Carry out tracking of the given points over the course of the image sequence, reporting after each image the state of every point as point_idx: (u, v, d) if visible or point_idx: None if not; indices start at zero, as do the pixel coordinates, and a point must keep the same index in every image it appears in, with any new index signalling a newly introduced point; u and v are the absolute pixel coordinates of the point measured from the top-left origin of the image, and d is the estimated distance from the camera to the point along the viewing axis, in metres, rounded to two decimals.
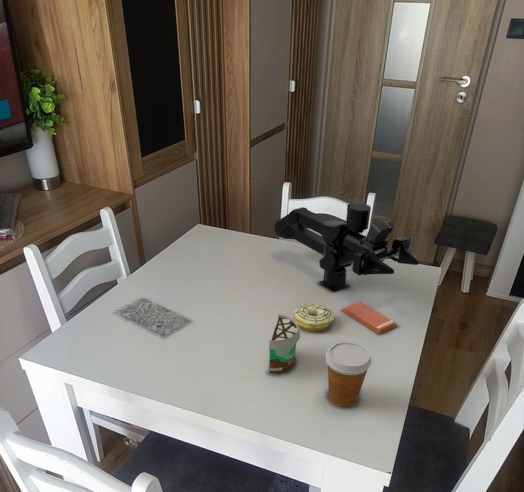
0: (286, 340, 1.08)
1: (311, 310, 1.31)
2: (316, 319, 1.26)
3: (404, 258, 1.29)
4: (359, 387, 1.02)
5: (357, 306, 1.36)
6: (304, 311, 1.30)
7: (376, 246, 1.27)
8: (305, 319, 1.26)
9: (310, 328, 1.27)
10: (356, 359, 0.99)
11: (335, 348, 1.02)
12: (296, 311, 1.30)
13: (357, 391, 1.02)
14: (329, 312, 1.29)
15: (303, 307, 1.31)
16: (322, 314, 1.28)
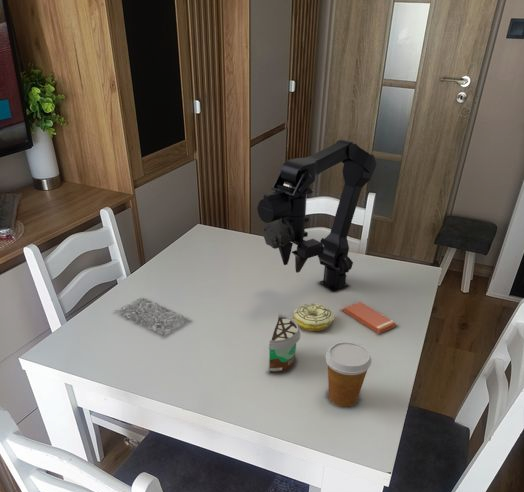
0: (286, 340, 1.08)
1: (311, 310, 1.31)
2: (316, 319, 1.26)
3: None
4: (359, 387, 1.02)
5: (357, 306, 1.36)
6: (304, 311, 1.30)
7: None
8: (305, 319, 1.26)
9: (310, 328, 1.27)
10: (356, 359, 0.99)
11: (335, 348, 1.02)
12: (296, 311, 1.30)
13: (357, 391, 1.02)
14: (329, 312, 1.29)
15: (303, 307, 1.31)
16: (322, 314, 1.28)
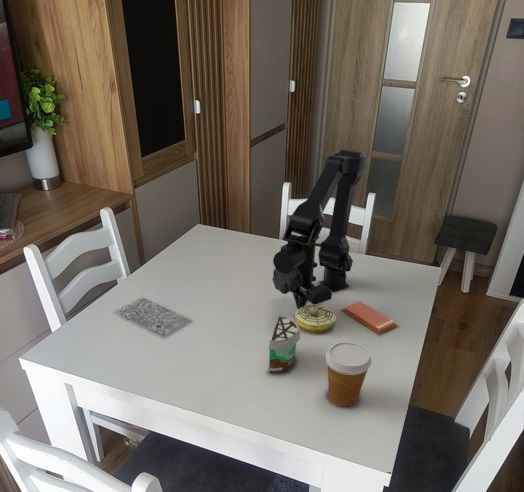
0: (286, 340, 1.08)
1: (312, 311, 1.31)
2: (318, 321, 1.26)
3: None
4: (359, 387, 1.02)
5: (357, 306, 1.36)
6: (306, 312, 1.29)
7: None
8: (307, 320, 1.26)
9: (312, 329, 1.26)
10: (356, 359, 0.99)
11: (335, 348, 1.02)
12: (298, 312, 1.29)
13: (357, 391, 1.02)
14: (331, 314, 1.29)
15: (305, 308, 1.31)
16: (324, 315, 1.28)
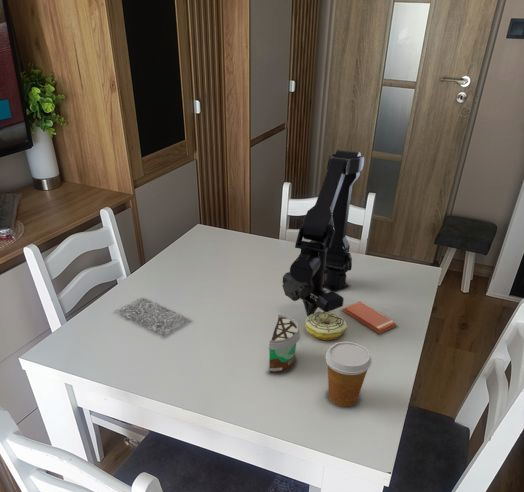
0: (286, 340, 1.08)
1: (323, 318, 1.28)
2: (329, 328, 1.23)
3: None
4: (359, 387, 1.02)
5: (357, 306, 1.36)
6: (316, 319, 1.26)
7: None
8: (318, 328, 1.23)
9: (322, 337, 1.23)
10: (356, 359, 0.99)
11: (335, 348, 1.02)
12: (308, 319, 1.27)
13: (357, 391, 1.02)
14: (342, 321, 1.26)
15: (315, 315, 1.28)
16: (335, 322, 1.25)
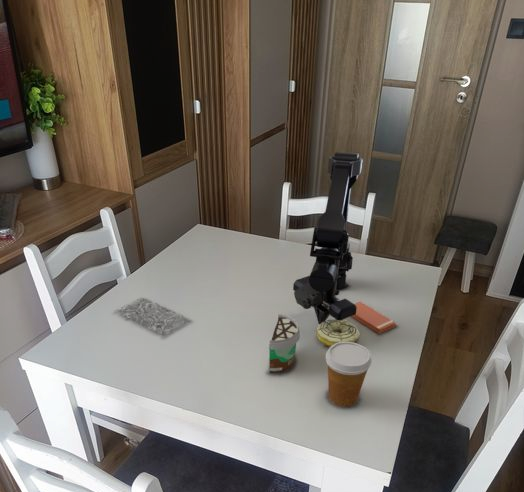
0: (286, 340, 1.08)
1: (335, 326, 1.25)
2: (341, 337, 1.20)
3: None
4: (359, 387, 1.02)
5: (357, 306, 1.36)
6: (328, 327, 1.23)
7: None
8: (330, 337, 1.20)
9: None
10: (356, 359, 0.99)
11: (335, 348, 1.02)
12: (319, 327, 1.23)
13: (357, 391, 1.02)
14: (355, 329, 1.23)
15: (326, 323, 1.25)
16: (347, 331, 1.22)
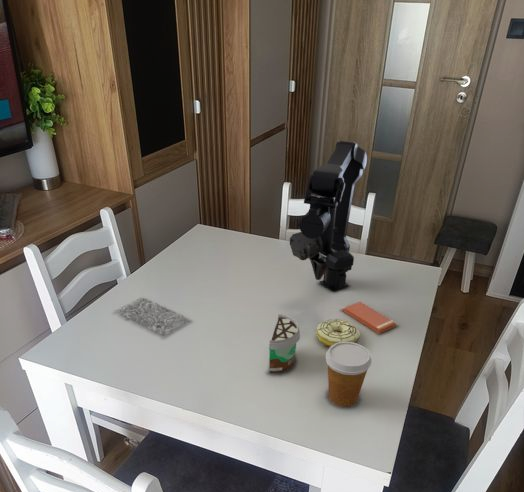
0: (286, 340, 1.08)
1: (335, 326, 1.25)
2: (341, 337, 1.20)
3: None
4: (359, 387, 1.02)
5: (357, 306, 1.36)
6: (328, 327, 1.23)
7: None
8: (330, 337, 1.20)
9: None
10: (356, 359, 0.99)
11: (335, 348, 1.02)
12: (319, 327, 1.23)
13: (357, 391, 1.02)
14: (355, 329, 1.23)
15: (326, 323, 1.25)
16: (347, 331, 1.22)
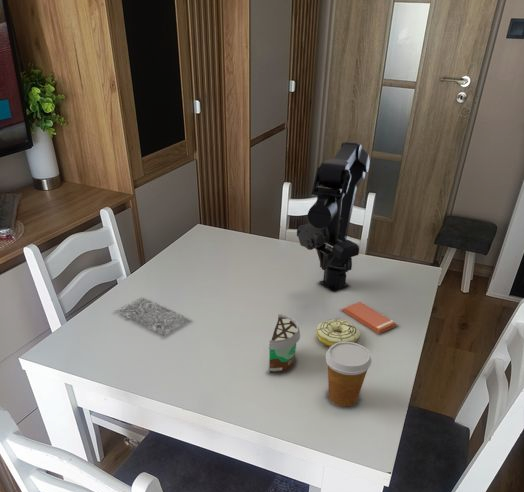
0: (286, 340, 1.08)
1: (335, 326, 1.25)
2: (341, 337, 1.20)
3: None
4: (359, 387, 1.02)
5: (357, 306, 1.36)
6: (328, 327, 1.23)
7: None
8: (330, 337, 1.20)
9: None
10: (356, 359, 0.99)
11: (335, 348, 1.02)
12: (319, 327, 1.23)
13: (357, 391, 1.02)
14: (355, 329, 1.23)
15: (326, 323, 1.25)
16: (347, 331, 1.22)
